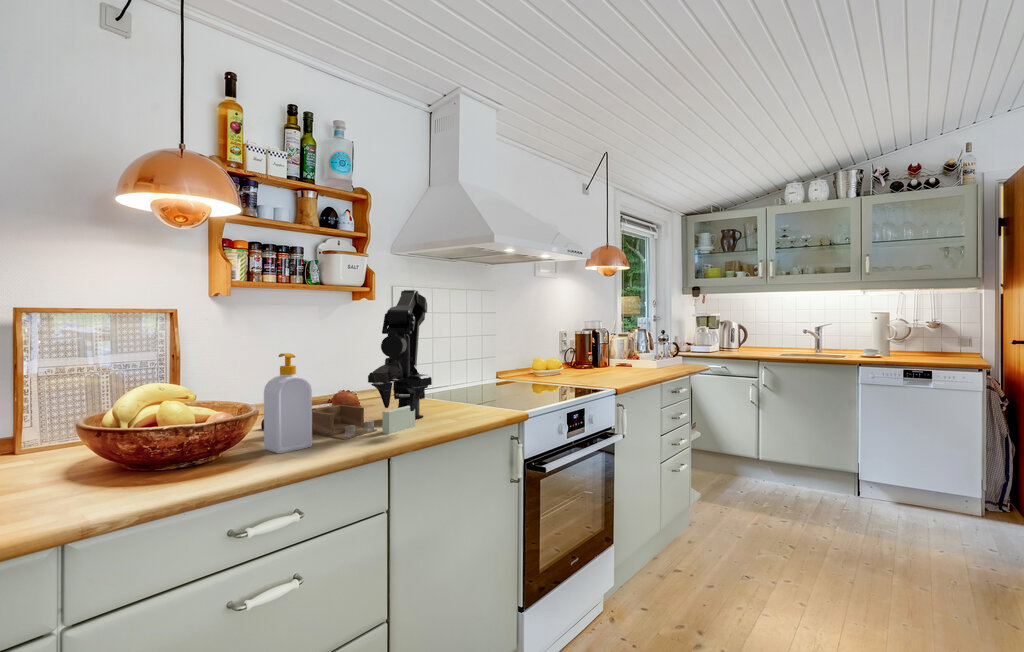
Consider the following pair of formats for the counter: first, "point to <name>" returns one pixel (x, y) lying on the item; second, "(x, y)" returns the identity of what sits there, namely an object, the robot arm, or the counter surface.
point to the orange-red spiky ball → (345, 399)
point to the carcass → (340, 422)
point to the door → (397, 420)
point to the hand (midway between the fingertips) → (399, 409)
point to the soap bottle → (287, 410)
